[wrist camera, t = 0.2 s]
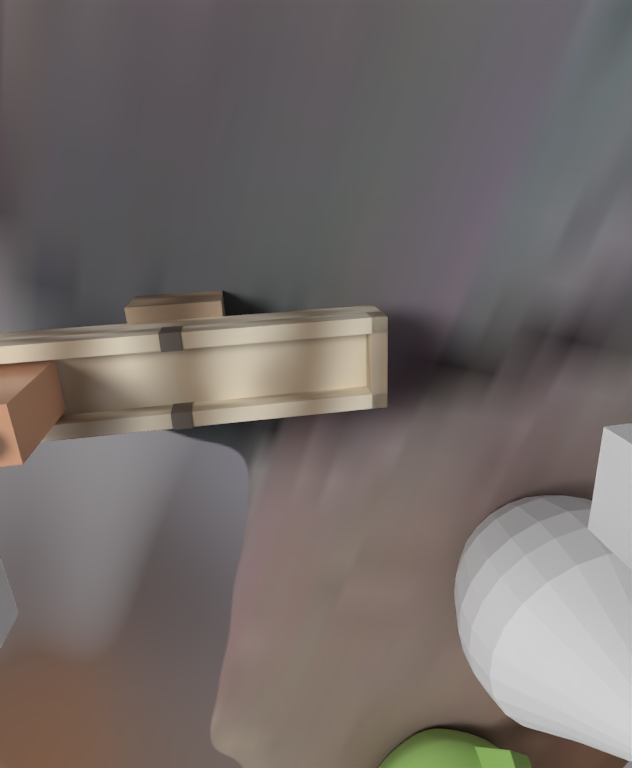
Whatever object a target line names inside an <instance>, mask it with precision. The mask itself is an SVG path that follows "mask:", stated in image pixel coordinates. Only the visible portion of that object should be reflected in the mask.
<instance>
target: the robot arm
mask: <svg viewBox="0 0 632 768" xmlns="http://www.w3.org/2000/svg"><path fill="white" fill-rule="evenodd" d="M588 530H589V531H590V532H591V533H592V534H593V535H595V536H596V537H597V538H598V539H599V540H600V541H601V542H602V543H603V544H604V545H605V546H606V547H607V548H608V549H610V550H611V551H612V552H613V553H614V554H615V555H616V556H617V557H618V558H619V559H620V560H621V561H622V562H623V563H624V564H626V565H627V566H628V567H629V568H630V569H631V570H632V423H630V424H622V425H613V426H605V427H604V429H603V435H602V441H601V448H600V454H599V460H598V467H597V473H596V479H595V486H594V492H593V498H592V505H591V511H590V517H589V524H588ZM18 613H19V612H18V610H17V606H16V604H15V600H14V597H13V594H12V591H11V588H10V585H9V582H8V579H7V576H6V573H5V570H4V567H3V564H2V561H1V558H0V649H1V646H2V645H3V643H4V641H5V639H6V637H7V635H8V633H9V631H10V629H11V627H12V625H13V623H14V621H15V619H16V617H17V616H18Z"/></svg>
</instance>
